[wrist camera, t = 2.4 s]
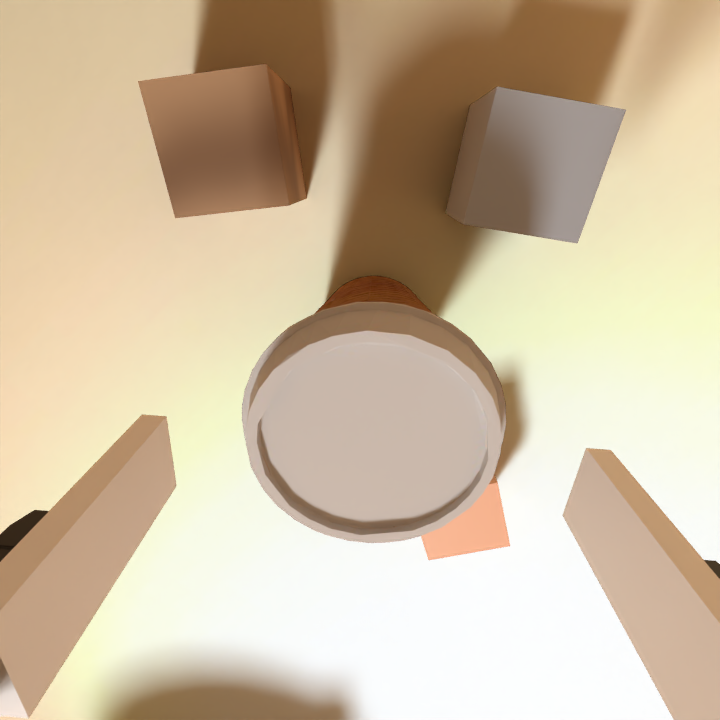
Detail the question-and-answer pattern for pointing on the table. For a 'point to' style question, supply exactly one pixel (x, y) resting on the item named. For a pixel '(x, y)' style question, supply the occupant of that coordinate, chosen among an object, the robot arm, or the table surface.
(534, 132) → the slate grey cube
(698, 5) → the table surface
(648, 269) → the table surface
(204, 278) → the table surface
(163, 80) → the walnut cube
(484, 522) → the terracotta cube
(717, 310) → the table surface
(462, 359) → the disposable coffee cup
